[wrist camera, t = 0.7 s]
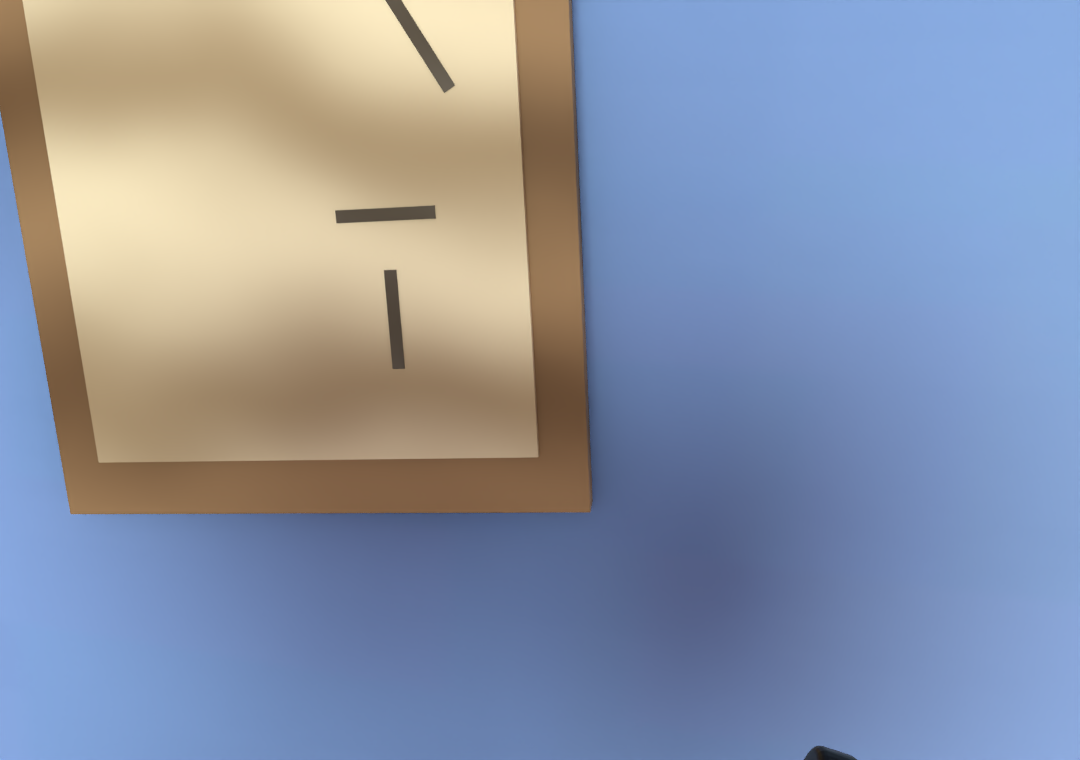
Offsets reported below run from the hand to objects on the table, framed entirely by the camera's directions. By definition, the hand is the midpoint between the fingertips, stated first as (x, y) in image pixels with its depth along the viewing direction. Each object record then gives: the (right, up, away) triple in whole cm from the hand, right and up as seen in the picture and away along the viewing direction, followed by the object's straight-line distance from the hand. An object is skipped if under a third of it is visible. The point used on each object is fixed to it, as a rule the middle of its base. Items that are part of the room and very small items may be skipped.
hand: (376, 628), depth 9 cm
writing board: (-4, +9, +13) cm, 16 cm away
